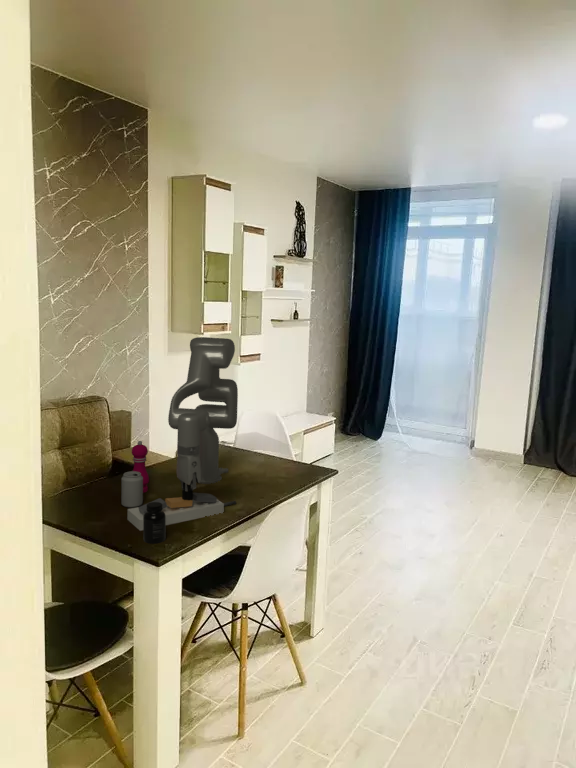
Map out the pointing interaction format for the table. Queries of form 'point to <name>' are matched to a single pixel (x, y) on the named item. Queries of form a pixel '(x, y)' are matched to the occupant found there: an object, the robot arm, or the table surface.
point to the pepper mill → (141, 462)
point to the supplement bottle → (154, 524)
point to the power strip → (181, 512)
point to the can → (132, 489)
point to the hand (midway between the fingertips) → (187, 501)
